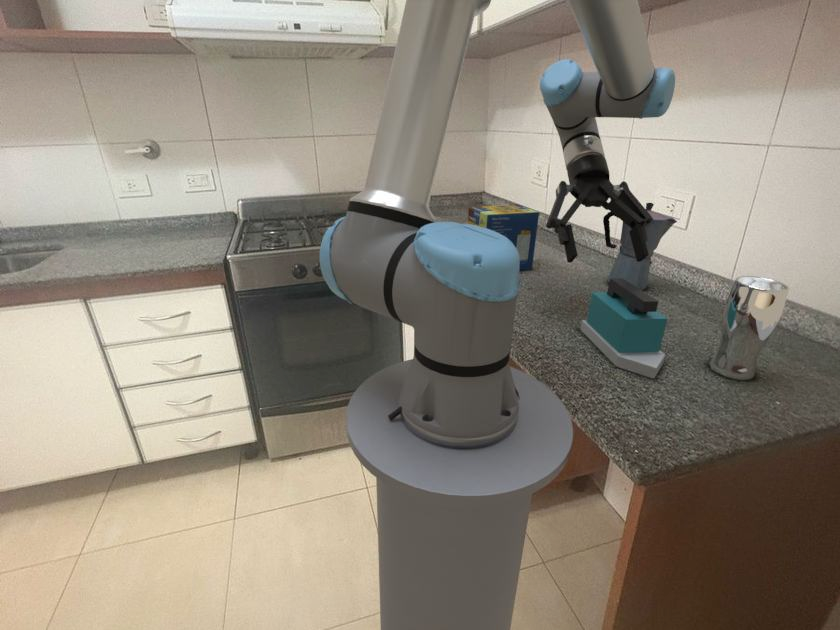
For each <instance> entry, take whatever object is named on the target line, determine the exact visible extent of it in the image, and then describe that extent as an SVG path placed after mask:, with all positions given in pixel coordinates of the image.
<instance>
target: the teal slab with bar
mask: <svg viewBox="0 0 840 630" xmlns="http://www.w3.org/2000/svg"><path fill="white" fill-rule="evenodd" d="M658 305H659V300H657V299H656V298H654V297H653V296H651V295H650V294H648V293H646V292H645V291H644V290H640V289H639V288H637V287H636V286H634V285H632V284H631V283H629V282H628V281H626V280H625V279H623V278H610V281H609V282H608V287H607V290H606V291H594V292H593V291H592V292H591V296H590V301H589V306H588V312H587V318H586V319H582V320H581V321H580V327H579V330H580V332H582V333H583V334H584V336H586V337H587V338H588V339H589V341H591V342H592V344H594V345H595V347H596V348H598V350H600V352H602V354H603V355H604V356H605V357H606V358H607V359H608V360H609V361H610V362H611V363H612V364H613V365H614V366H615V367H617V368H619V369H622V370H625V371H629V372H632V373H635V374H636V375H637V374H638V375H640V376H644V377H646V378H650V379H652V380H655V378H656V376H657V374H658V373H659V372H660V371H661V368H662V367H663V365H664V363H665V362H664V361H665V359H666V354H665V353H664V352H663V351H662V350H661V345H662V342H663V338H664V336H665V335H664V334H665V331H666V327H667V323H668V319H669V318H668V317H666V316H665V315H663V314H662V313H660V312H659V311H657V309H658Z"/></svg>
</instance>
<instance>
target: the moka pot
mask: <svg viewBox="0 0 840 630" xmlns="http://www.w3.org/2000/svg"><path fill="white" fill-rule="evenodd" d="M654 205H655V204H654V203H653V202H646V204H645V209H646V210H647V212H648V213H649V214H650V215H651V216H652V218H653V221H652V222H651V223H650V224H649V225H648V226H647V227H645V230H646V234H647V238H648V239H647V241H646V246H647V250H648V253H649V255H648V256H647V257H645V258H644V259H643V260H642V261H641V262H637V260H636V256H635V252H634V248H633V244H632V241H631V237H630V233H629V232H630V231H631V230H632V229H631V228H630V227H629V226H628V225H627V224H625V223H624V222H623V221H622V226H621V233H620V241H619V243H620V245H619V252H618V254H617V256H616V259H615V261H614V262H613V263H614V264H613V266H612V268H611V271H610V273H609V275H608V277H607V280H606V282H608V283H609V281H610V278H623V279H625V280H626V281H628V282H629V283H631V284H632V285H634V286H636V287H637V288H639V289H640V290H642V291H644V290H646V289H647V285H648V282H649V275H650V268H651V265H652V264H653V261H652V257H653V255H654V252H655V250H657V248H658V247H659V243H660V241H661V239H662V238H663V237H664V236H665V235H666V234H667V232H668V231H669V230H670V229H671V228H672V226H673V225H674V224H676V223H678V220H677V219H675V218H674V217H672V216H669V215H665V214H662V213H660V212H657V211H654V210H652V209H653V207H654ZM611 217H615V218H618V217H617V216H616V215H615V214H613V213H612V212H611V211H610V210H609V211H608V212H607V213H606V214H605V215H604V216H603V217H602V218H603V219H602V223H603V229H604V230H603V231H604V240H605V247H607V248H610V249H616V248H617V247H618V245H617V244H614V243H612V241H611V226H610V219H611ZM618 219H619V218H618ZM635 223H636V222H635Z"/></svg>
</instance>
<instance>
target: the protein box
mask: <svg viewBox="0 0 840 630" xmlns="http://www.w3.org/2000/svg"><path fill="white" fill-rule="evenodd" d="M467 213H468V214H467V224H472V225H476V226H480V227H484V228H487V229H490V230H492V231H495V232H497V233H499V234H501V235H503V236H505V237H506V238H508V239H509V240H510V241H511V242H512V243H513V244H514V246H515V247H516V249H517V251H518V253H519V258H520V266H519V272H521V271H528V270H532V269H533V266H534V265H533V264H534V256H535V248H536V241H537V234H538V233H537V232H538V224H539V217H540V212H539V211H537V210H534V209H532V208H529V207H526V206H523V205H520V204H502V205H500V204H499V205H486V206H485V205H484V206H483V205H482V206H469V207H468V212H467Z"/></svg>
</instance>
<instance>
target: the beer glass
mask: <svg viewBox="0 0 840 630" xmlns="http://www.w3.org/2000/svg"><path fill="white" fill-rule="evenodd" d="M789 291H790V286H789V285H787V284H785V283H783V282H781V281H779V280H775V279H771V278H767V277H761V276H754V275H740V276H737V277H735V280H734V282H733V285H732V286H731V289H730V291H729V294H728V296H727V298H726V302H725V305H724V308H723V312H722V318H721V326H720V337H719V343H718V346H717V349H716V351H715V353H714V355H713V356H712V357H711V358H710V359H711V360H710V361H709V367H710V369H711V370H712V371H713V372H715V373H717V374H718V375H721V376H722V377H725V378H728V379H732V380H737V381H749V380H752V379H754V377H755V374H756V365H757V361H758V358H759V355H760V354H761V351H762V350H763V348H764V346H765V345H766V343H767V342H768V340H769V339H770V337H771V336H772V334H773V332H774V331H775V330H776V327H777V325H778V324H779V321H780V319H781V317H782V314H783V312H784V308H785V306H786V303H787V302H786V301H787V298H788V294H789Z"/></svg>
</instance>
